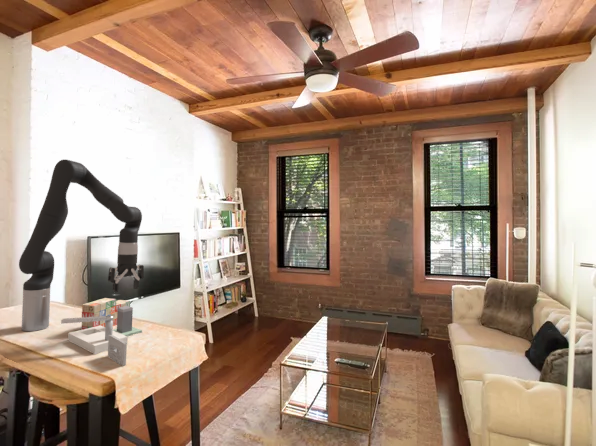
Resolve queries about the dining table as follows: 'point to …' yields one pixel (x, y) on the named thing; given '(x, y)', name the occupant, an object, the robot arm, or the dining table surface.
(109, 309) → the stack of blocks
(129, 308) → the plug
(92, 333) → the socket block
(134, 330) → the mat
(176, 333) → the dining table surface
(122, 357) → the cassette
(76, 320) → the clip
